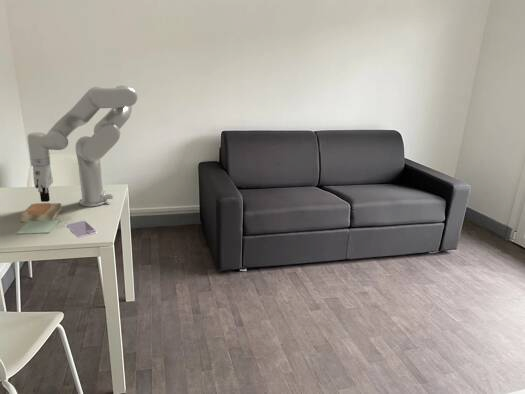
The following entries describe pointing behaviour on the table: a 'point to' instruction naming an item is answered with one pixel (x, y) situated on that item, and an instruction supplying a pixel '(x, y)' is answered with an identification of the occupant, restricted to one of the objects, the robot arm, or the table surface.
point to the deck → (49, 215)
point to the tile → (39, 209)
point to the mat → (38, 227)
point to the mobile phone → (81, 229)
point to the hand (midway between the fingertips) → (45, 201)
